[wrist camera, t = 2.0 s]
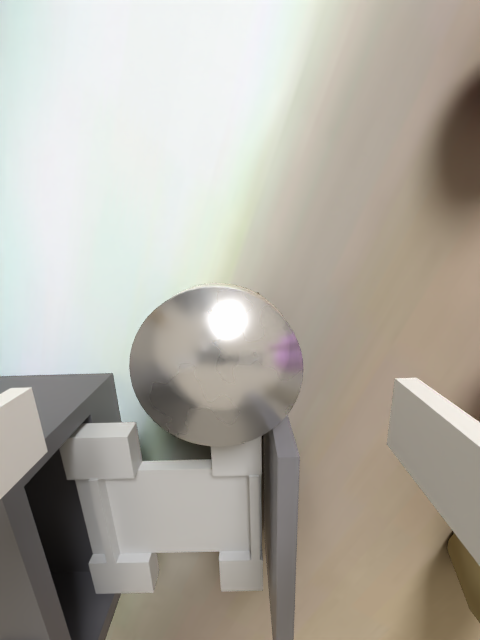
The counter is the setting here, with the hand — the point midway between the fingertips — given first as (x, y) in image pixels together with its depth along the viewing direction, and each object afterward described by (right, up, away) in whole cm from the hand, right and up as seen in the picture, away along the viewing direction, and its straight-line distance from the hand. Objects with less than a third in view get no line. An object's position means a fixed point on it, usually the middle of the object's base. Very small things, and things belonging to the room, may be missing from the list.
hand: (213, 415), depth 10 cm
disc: (0, +1, +4) cm, 4 cm away
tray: (-3, -9, +12) cm, 16 cm away
